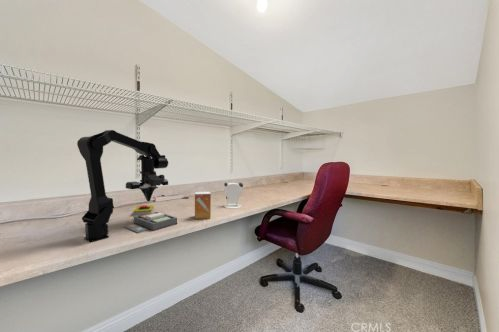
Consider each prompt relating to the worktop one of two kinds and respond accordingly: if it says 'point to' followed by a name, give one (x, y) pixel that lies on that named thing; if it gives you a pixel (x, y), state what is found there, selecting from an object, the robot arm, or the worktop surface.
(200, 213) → the small box
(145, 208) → the emergency button
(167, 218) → the sage key
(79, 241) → the worktop surface
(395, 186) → the worktop surface
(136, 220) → the keypad housing
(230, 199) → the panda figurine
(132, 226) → the card
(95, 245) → the worktop surface
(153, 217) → the offwhite key
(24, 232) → the worktop surface
